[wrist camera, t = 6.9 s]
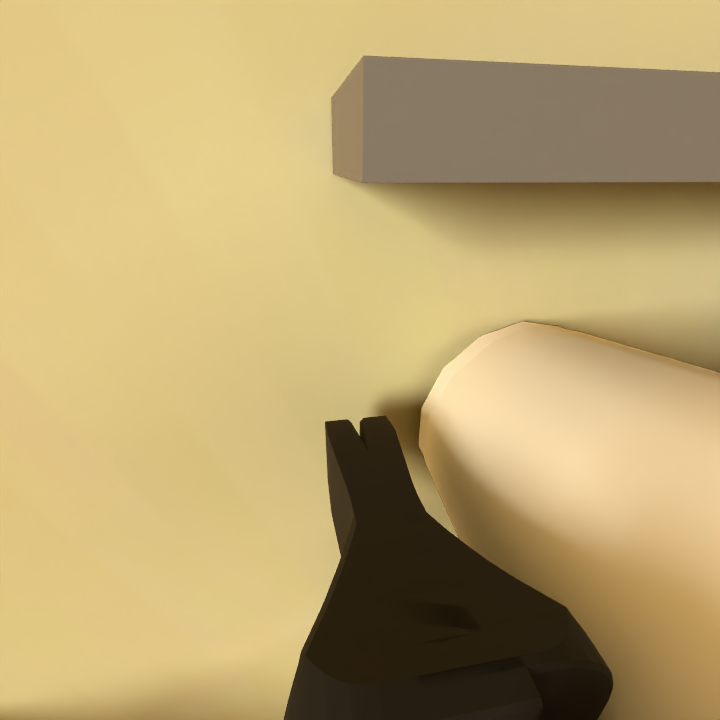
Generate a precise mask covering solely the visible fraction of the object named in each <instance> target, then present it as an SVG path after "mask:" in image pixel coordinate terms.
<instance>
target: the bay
mask: <svg viewBox="0 0 720 720" xmlns="http://www.w3.org/2000/svg"><path fill="white" fill-rule="evenodd" d="M331 101H332V146H333V174H335V175H338V176H342V177H345V178H348V179H351V180H355V181H358V182H361V183H512V182H720V72H699V71H678V70H657V69H635V68H614V67H593V66H572V65H550V64H529V63H508V62H487V61H465V60H444V59H423V58H402V57H380V56H363V57H362V58H361V60H360V61H359V62H358V64H357V65H356V66H355V67H354V69H353V70H352V71H351V73H350V74H349V75H348V77H347V78H346V79H345V81H344V82H343V83H342V85H341V86H340V87H339V89H338V90H337V91H336V93H335V94H334V95H333V97H332V98H331Z"/></svg>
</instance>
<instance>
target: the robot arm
mask: <svg viewBox="0 0 720 720" xmlns="http://www.w3.org/2000/svg"><path fill="white" fill-rule="evenodd" d="M325 430H326V451H327V472H328V485H329V494H330V503H331V512H332V517H333V522H334V526H335V531H336V536H337V540H338V545H339V549H340V554H341V559H340V562H339V565H338V567H337V570H336V573H335V575H334V578H333V580H332V583H331V585H330V588H329V591H328V593H327V596H326V598H325V601H324V603H323V605H322V608H321V610H320V612H319V614H318V616H317V619H316V621H315V623H314V625H313V627H312V629H311V632H310V634H309V636H308V638H307V640H306V642H305V644H304V647H303V649H302V651H301V654H300V659H299V664H298V667H297V671H296V674H295V678H294V681H293V685H292V688H291V692H290V696H289V700H288V704H287V708H286V712H285V716H284V720H598V718H599V716H600V715H601V713H602V711H603V709H604V708H605V706H606V704H607V702H608V701H609V698H610V695H611V693H612V690H613V683H614V682H613V677H612V672H611V671H610V669H609V668H608V666H607V664H606V663H605V661H604V660H603V658H602V656H601V655H600V653H599V652H598V650H597V649H596V647H595V645H594V644H593V642H592V641H591V640H590V638H589V637H588V635H587V634H586V632H585V631H584V630H583V628H582V627H581V626H580V625H579V623H578V622H577V621H576V619H575V618H574V617H573V616H572V614H571V613H570V611H569V610H568V608H567V607H565V606H564V605H562V604H560V603H558V602H557V601H555V600H553V599H551V598H550V597H548V596H546V595H544V594H543V593H541V592H539V591H537V590H536V589H534V588H532V587H530V586H529V585H527V584H525V583H523V582H522V581H520V580H518V579H516V578H515V577H513V576H511V575H510V574H508V573H507V572H505V571H504V570H502V569H501V568H499V567H498V566H496V565H494V564H493V563H491V562H490V561H488V560H487V559H485V558H484V557H483V556H481V555H480V554H479V553H477V552H476V551H474V550H473V549H472V548H470V547H469V546H468V545H466V544H465V543H464V542H462V541H461V540H460V539H458V538H457V537H456V536H454V535H453V534H452V533H450V532H449V531H448V530H447V529H445V528H444V527H443V526H442V525H441V524H440V523H438V522H437V521H436V520H435V519H434V518H432V517H431V516H430V515H429V514H428V513H427V512H426V510H425V509H424V507H423V505H422V503H421V501H420V499H419V497H418V495H417V493H416V490H415V488H414V485H413V483H412V480H411V477H410V474H409V471H408V468H407V465H406V462H405V458H404V455H403V452H402V449H401V446H400V443H399V440H398V437H397V434H396V431H395V429H394V428H393V426H392V424H391V423H390V421H389V420H388V418H387V417H386V416H379V417H368V418H363V419H362V420H361V421H360V436H359V434H358V433H357V431H356V430H355V428H354V426H353V425H352V423H351V422H350V421H349V420H337V421H327V422H325Z"/></svg>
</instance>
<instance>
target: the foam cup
mask: <svg viewBox="0 0 720 720" xmlns="http://www.w3.org/2000/svg"><path fill="white" fill-rule="evenodd" d="M419 447H420V449H421V451H422V453H423V455H424V460H425V463H426V465H427V467H428V469H429V472H430V474H431V476H432V478H433V481H434V483H435V485H436V488H437V490H438V492H439V494H440V497H441V499H442V501H443V503H444V506H445V508H446V510H447V513H448V515H449V517H450V519H451V522H452V524H453V526H454V528H455V531H456V533H457V535H458V538H459V539H460V540H461V541H462V542H464V543H465V544H466V545H468V546H469V547H470V548H472V549H473V550H474V551H476V552H477V553H479V554H480V555H481V556H483V557H484V558H485V559H487V560H488V561H490V562H491V563H493V564H494V565H496V566H498V567H499V568H501V569H502V570H504V571H505V572H507V573H508V574H510V575H511V576H513V577H515V578H516V579H518V580H520V581H522V582H523V583H525V584H527V585H529V586H530V587H532V588H534V589H536V590H537V591H539V592H541V593H543V594H544V595H546V596H548V597H550V598H551V599H553V600H555V601H557V602H558V603H560V604H562V605H564V606H565V607H567V608H568V610H569V611H570V613H571V614H572V616H573V617H574V618H575V619H576V621H577V622H578V623H579V625H580V626H581V627H582V628H583V630H584V631H585V632H586V634H587V635H588V637H589V638H590V640H591V641H592V642H593V644H594V645H595V647H596V649H597V650H598V652H599V653H600V655H601V656H602V658H603V660H604V661H605V663H606V664H607V666H608V668H609V669H610V671H611V672H612V677H613V682H614V683H613V690H612V693H611V695H610V698H609V701H608V702H607V704H606V706H605V708H604V709H603V711H602V713H601V715H600V716H599V718H598V720H720V372H716V371H713V370H709V369H706V368H702V367H699V366H696V365H692V364H689V363H685V362H682V361H678V360H675V359H671V358H668V357H665V356H661V355H658V354H654V353H651V352H647V351H644V350H641V349H637V348H634V347H630V346H627V345H623V344H620V343H616V342H613V341H610V340H606V339H603V338H599V337H596V336H592V335H589V334H585V333H582V332H579V331H573V330H566V329H564V328H562V327H559V326H552V325H545V324H538V323H531V322H524V321H523V322H520V323H517V324H514V325H511V326H508V327H506V328H503V329H500V330H497V331H494V332H491V333H488V334H486V335H483V336H480V337H479V338H478V339H477V340H475V341H474V342H473V343H472V344H471V345H470V346H469V347H467V348H466V349H465V350H464V351H463V352H462V353H460V354H459V355H458V356H457V357H456V358H455V359H453V360H452V361H451V362H450V363H449V364H448V365H446V366H445V367H444V368H443V370H442V371H441V373H440V375H439V377H438V379H437V381H436V382H435V384H434V386H433V388H432V390H431V391H430V393H429V395H428V397H427V399H426V401H425V402H424V404H423V406H422V408H421V420H420V433H419Z"/></svg>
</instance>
